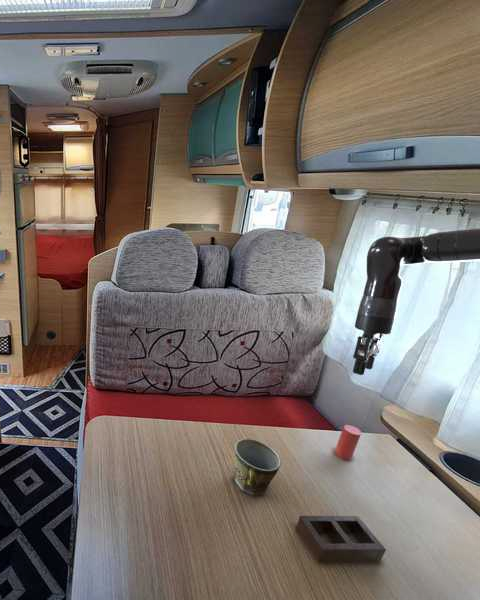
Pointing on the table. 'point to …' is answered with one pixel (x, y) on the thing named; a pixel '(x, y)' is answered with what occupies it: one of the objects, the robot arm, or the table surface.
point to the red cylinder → (347, 442)
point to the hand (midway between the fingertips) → (362, 371)
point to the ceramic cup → (255, 465)
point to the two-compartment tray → (340, 539)
